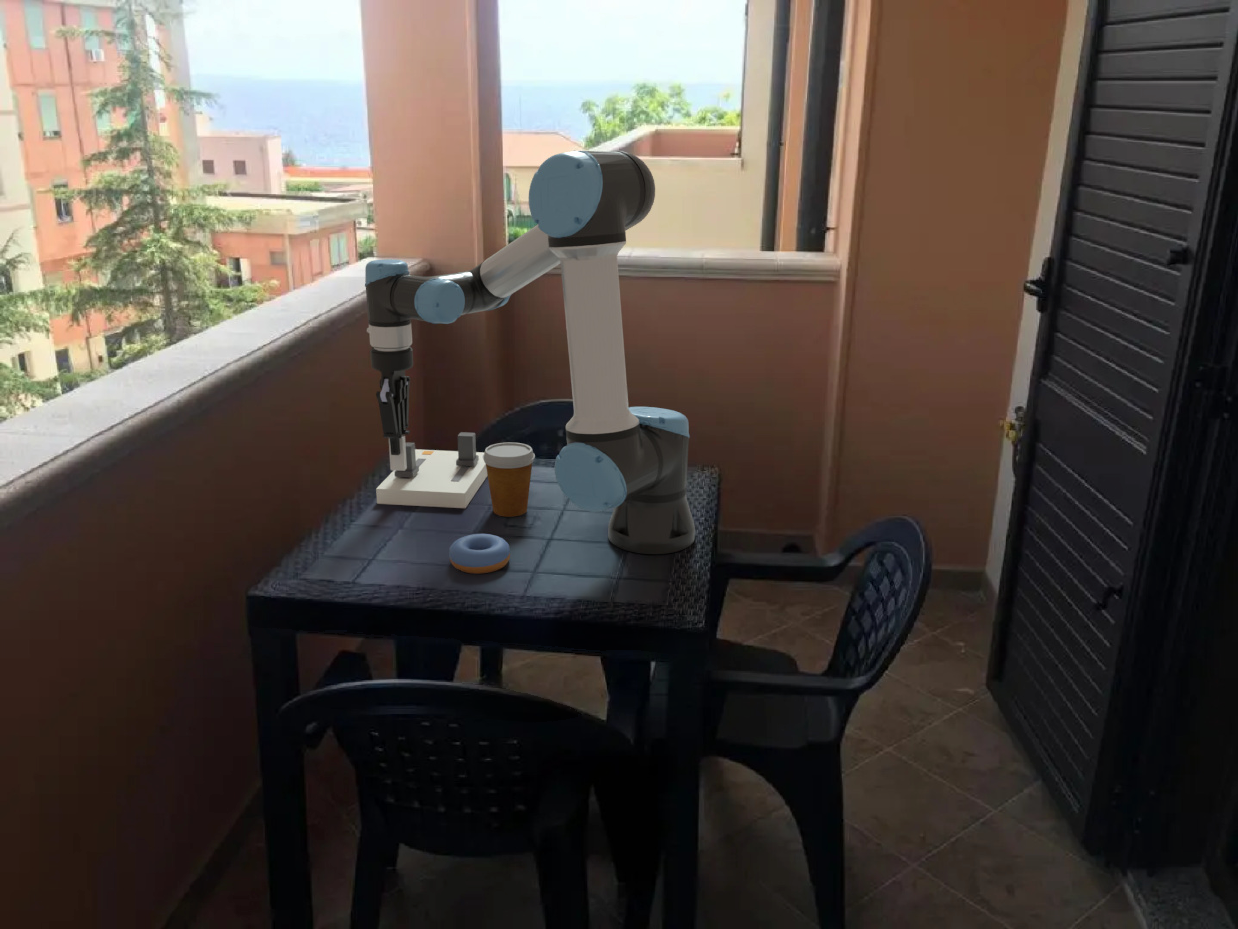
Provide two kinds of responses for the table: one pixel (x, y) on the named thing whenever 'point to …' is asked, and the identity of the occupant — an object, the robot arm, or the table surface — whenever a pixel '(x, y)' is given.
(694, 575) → the table surface
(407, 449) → the block
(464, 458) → the block
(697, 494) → the table surface
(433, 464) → the panel
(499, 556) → the doughnut
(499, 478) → the disposable coffee cup
